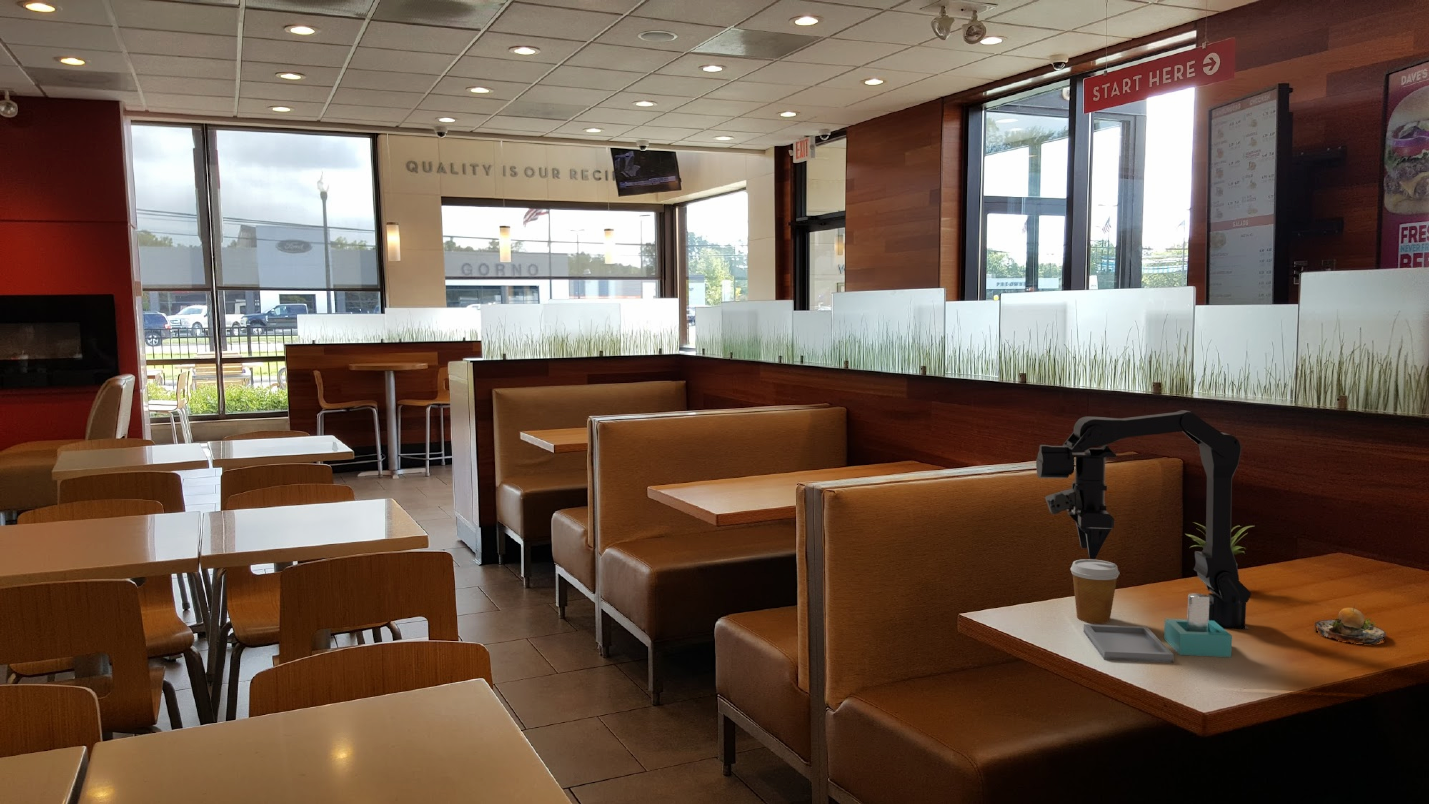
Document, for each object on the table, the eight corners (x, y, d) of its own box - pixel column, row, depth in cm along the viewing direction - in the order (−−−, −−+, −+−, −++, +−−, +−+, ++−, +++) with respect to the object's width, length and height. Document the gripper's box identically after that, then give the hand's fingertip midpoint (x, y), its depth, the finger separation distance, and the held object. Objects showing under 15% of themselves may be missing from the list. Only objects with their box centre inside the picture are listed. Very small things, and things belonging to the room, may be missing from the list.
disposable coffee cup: (1109, 614, 206) (1111, 559, 205) (1124, 629, 197) (1126, 570, 196) (1063, 613, 207) (1065, 558, 206) (1075, 627, 198) (1077, 569, 197)
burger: (1390, 636, 193) (1393, 599, 192) (1380, 651, 184) (1382, 613, 183) (1321, 623, 201) (1323, 588, 200) (1307, 637, 192) (1309, 600, 191)
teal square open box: (1212, 643, 188) (1213, 620, 187) (1230, 659, 179) (1232, 635, 179) (1163, 641, 189) (1164, 618, 189) (1179, 657, 180) (1180, 633, 180)
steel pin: (1203, 644, 185) (1205, 593, 185) (1210, 651, 182) (1212, 599, 181) (1183, 644, 186) (1185, 592, 185) (1189, 650, 182) (1192, 598, 182)
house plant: (1229, 578, 234) (1231, 511, 233) (1271, 594, 221) (1274, 523, 219) (1175, 581, 232) (1178, 513, 231) (1214, 597, 218) (1217, 526, 217)
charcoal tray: (1146, 636, 192) (1146, 626, 192) (1173, 665, 176) (1173, 654, 176) (1083, 634, 193) (1083, 624, 193) (1104, 662, 178) (1104, 651, 178)
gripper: (1042, 470, 210) (1040, 541, 211) (1055, 485, 191) (1054, 563, 193) (1096, 471, 207) (1095, 543, 209) (1115, 486, 189) (1113, 565, 190)
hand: (1088, 553), depth 200 cm, fingers open, 9 cm apart
